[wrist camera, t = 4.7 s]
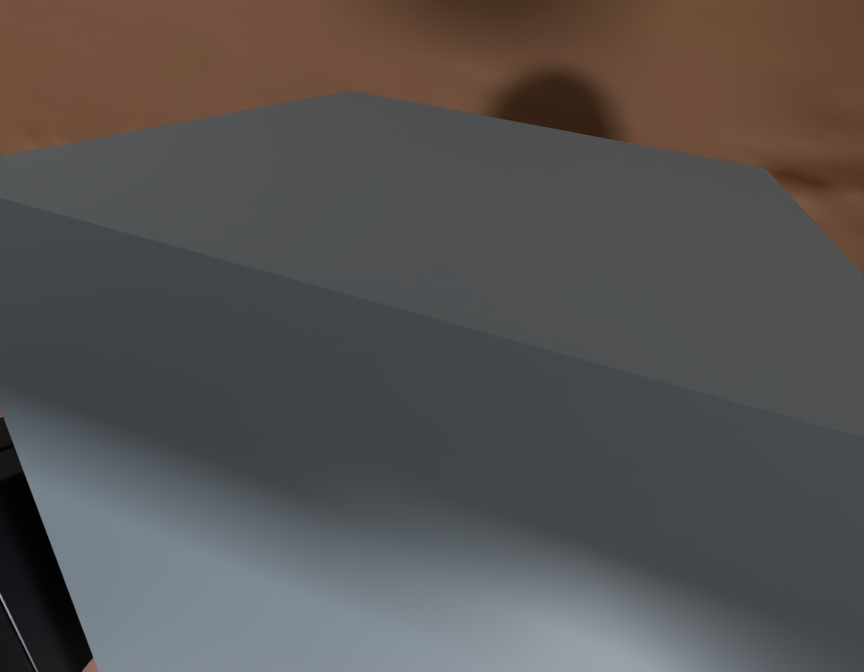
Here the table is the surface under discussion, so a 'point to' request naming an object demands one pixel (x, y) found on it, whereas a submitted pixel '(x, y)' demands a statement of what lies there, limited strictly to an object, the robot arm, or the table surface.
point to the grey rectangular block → (433, 398)
